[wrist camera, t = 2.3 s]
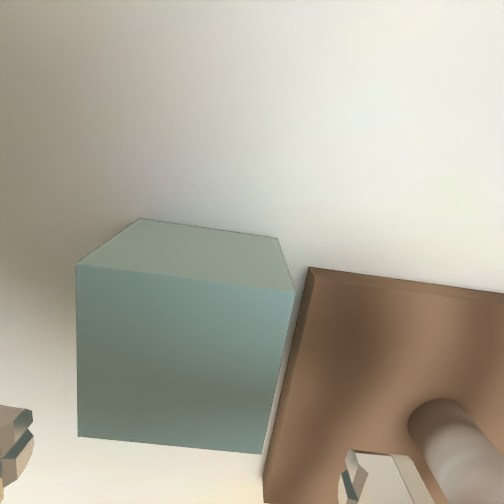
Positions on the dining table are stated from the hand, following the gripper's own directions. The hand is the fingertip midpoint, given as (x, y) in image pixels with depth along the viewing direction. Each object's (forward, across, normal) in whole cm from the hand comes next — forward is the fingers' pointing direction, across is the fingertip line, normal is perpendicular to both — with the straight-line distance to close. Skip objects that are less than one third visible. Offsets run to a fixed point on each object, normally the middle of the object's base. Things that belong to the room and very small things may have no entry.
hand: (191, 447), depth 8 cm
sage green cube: (+8, +1, -1) cm, 8 cm away
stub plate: (+9, -12, +4) cm, 15 cm away
